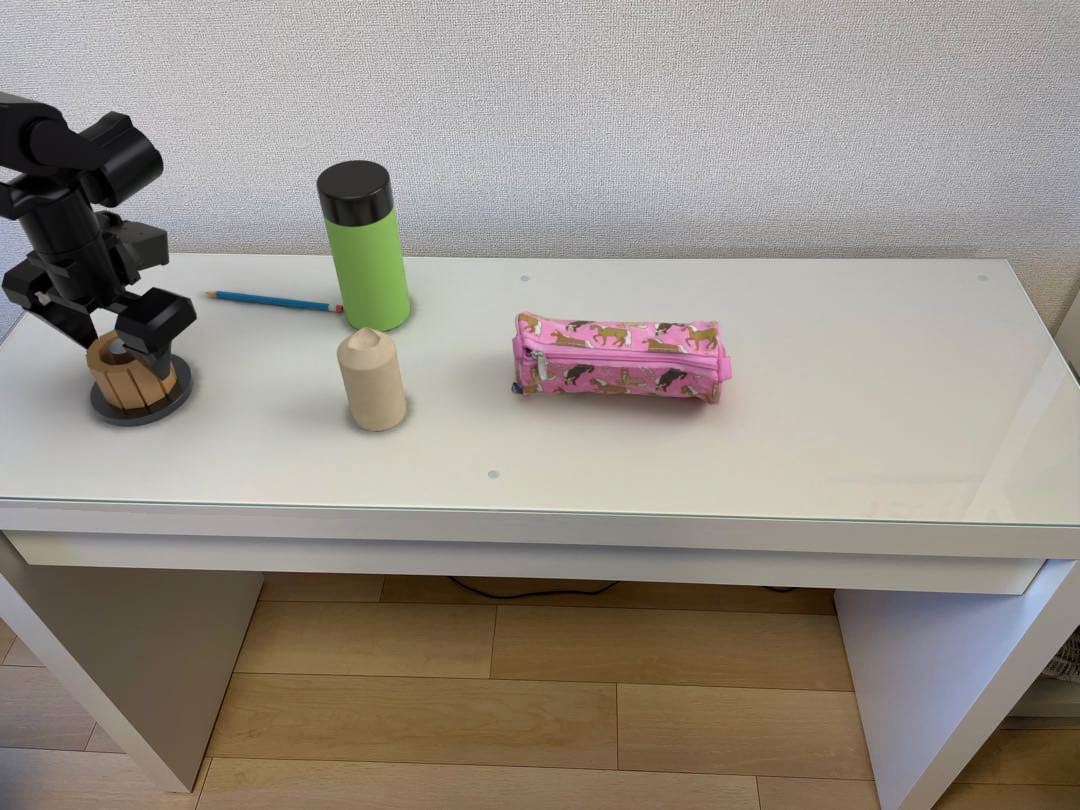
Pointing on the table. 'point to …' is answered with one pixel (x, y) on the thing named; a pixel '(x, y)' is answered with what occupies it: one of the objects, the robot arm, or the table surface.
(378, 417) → the candle
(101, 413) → the stand
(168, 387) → the wooden segmented ring
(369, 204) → the tumbler
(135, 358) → the robot arm
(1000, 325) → the table surface
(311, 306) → the pencil
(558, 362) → the pencil case
